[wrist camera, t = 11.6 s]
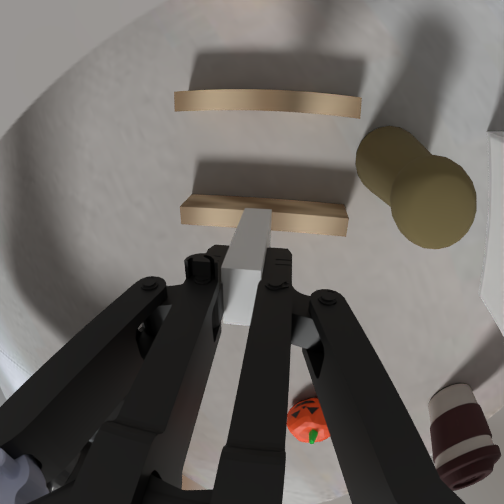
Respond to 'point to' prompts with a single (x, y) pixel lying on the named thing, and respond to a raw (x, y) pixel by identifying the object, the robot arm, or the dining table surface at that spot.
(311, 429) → the pumpkin
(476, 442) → the coffee cup
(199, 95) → the pair of wooden strips
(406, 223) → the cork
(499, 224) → the butter dish
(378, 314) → the dining table surface
